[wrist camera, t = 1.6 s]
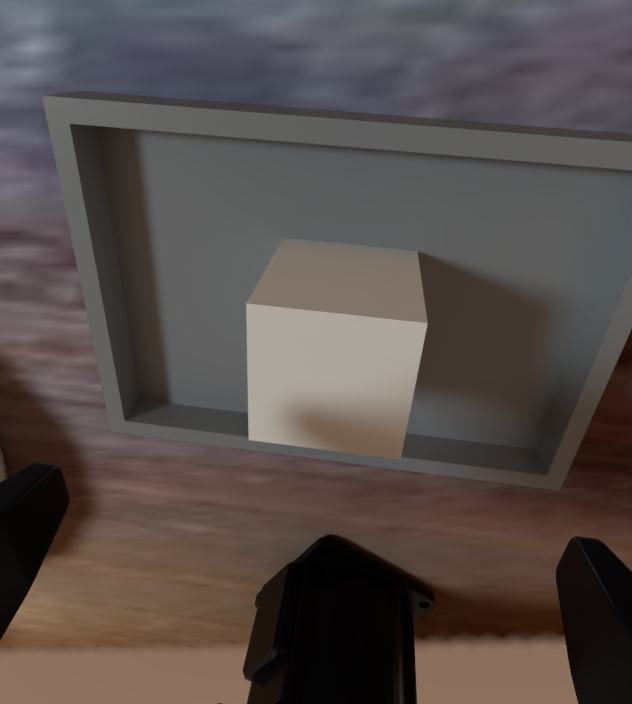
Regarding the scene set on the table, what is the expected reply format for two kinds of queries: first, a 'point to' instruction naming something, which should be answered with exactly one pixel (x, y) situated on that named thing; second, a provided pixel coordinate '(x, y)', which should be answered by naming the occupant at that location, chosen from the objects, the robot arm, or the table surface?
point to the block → (335, 347)
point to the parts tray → (357, 229)
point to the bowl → (2, 467)
